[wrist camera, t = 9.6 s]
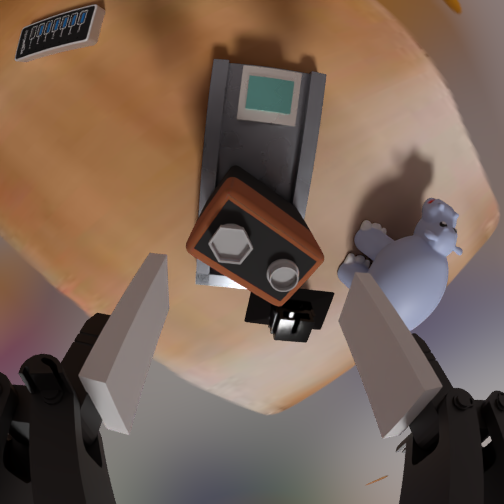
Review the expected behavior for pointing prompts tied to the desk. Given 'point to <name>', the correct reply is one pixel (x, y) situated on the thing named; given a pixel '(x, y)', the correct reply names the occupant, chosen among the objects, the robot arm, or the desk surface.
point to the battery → (255, 238)
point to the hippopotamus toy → (408, 261)
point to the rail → (260, 135)
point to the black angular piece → (291, 314)
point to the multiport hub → (60, 33)
